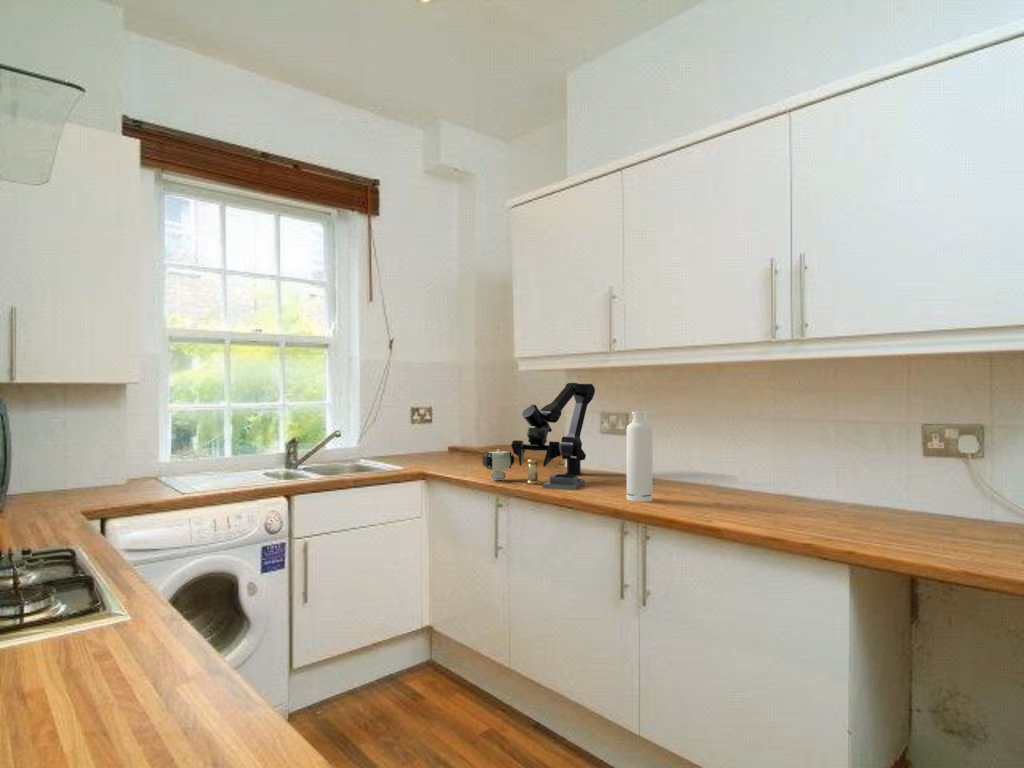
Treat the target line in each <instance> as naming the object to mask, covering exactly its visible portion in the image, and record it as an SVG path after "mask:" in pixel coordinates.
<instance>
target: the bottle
mask: <svg viewBox="0 0 1024 768" xmlns="http://www.w3.org/2000/svg"><path fill="white" fill-rule="evenodd" d="M631 414H632V420H631V422H630V423H629V424H627V426H626V500H627V499H628V500H627V501H629V500H630V502H637V503H638V502H639V503H647V502H652V501H653V427H652V425H650V423H648V421H647V418H646V417H647V414H648V411H631Z"/></svg>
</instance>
